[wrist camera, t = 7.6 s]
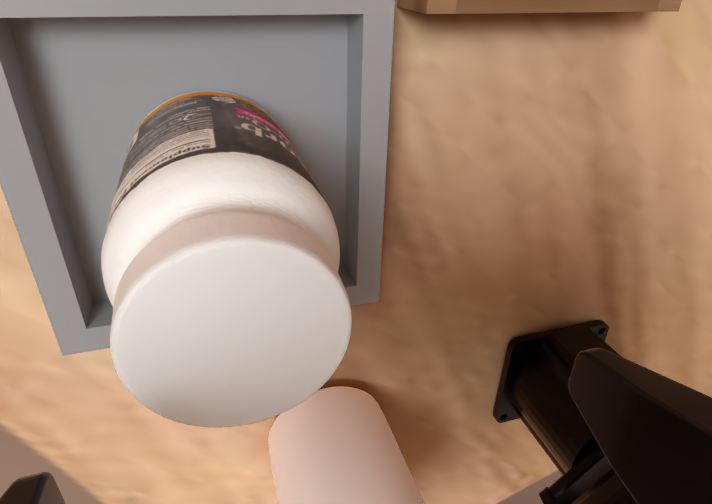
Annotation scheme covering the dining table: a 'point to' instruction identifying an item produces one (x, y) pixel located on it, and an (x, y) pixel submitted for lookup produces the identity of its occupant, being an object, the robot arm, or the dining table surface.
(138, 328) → the pill bottle
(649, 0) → the socket collar
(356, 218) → the tray
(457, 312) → the dining table surface
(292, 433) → the beverage can
